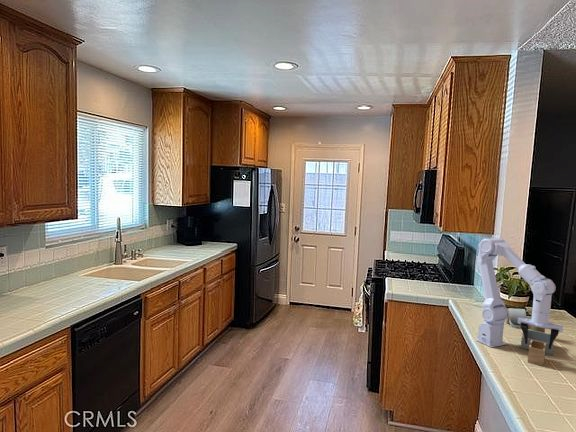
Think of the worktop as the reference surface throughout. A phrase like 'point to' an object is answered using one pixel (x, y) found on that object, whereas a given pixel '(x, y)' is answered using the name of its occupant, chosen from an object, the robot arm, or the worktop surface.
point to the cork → (538, 329)
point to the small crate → (536, 352)
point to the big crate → (538, 337)
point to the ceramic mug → (515, 316)
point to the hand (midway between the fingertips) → (537, 345)
